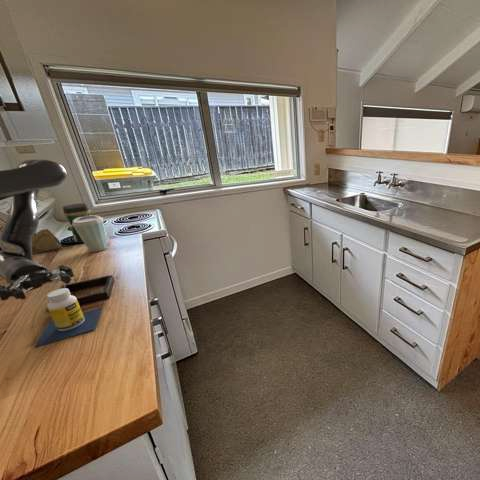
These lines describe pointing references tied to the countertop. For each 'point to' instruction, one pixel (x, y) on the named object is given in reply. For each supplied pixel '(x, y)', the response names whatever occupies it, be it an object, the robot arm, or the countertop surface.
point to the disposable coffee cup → (91, 232)
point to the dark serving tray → (88, 284)
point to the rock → (44, 241)
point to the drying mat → (55, 335)
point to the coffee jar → (76, 216)
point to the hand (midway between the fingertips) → (46, 287)
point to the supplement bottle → (64, 310)
